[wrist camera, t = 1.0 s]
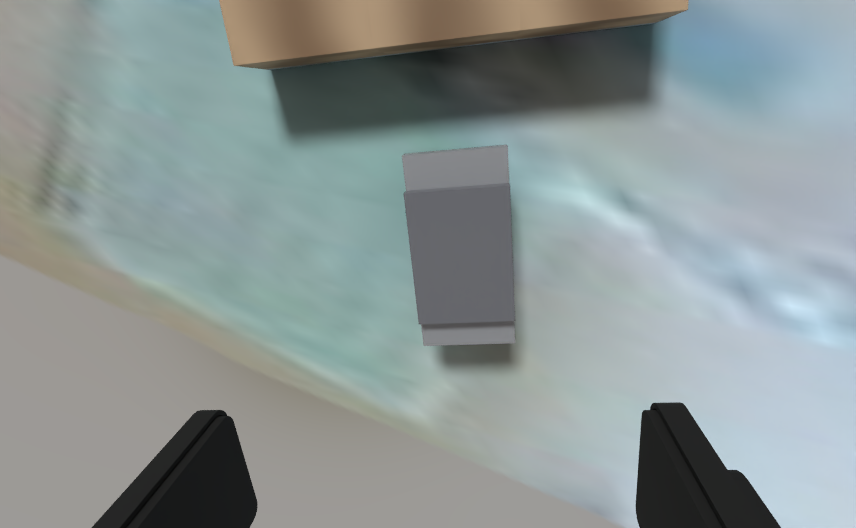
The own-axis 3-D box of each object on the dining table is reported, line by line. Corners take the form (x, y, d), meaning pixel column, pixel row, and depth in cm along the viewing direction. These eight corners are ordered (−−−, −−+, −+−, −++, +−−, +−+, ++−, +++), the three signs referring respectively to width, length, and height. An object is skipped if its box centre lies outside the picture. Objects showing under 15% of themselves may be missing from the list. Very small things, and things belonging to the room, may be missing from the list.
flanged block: (503, 138, 25) (508, 147, 21) (510, 308, 29) (515, 350, 24) (414, 146, 26) (399, 157, 21) (431, 311, 29) (422, 352, 25)
